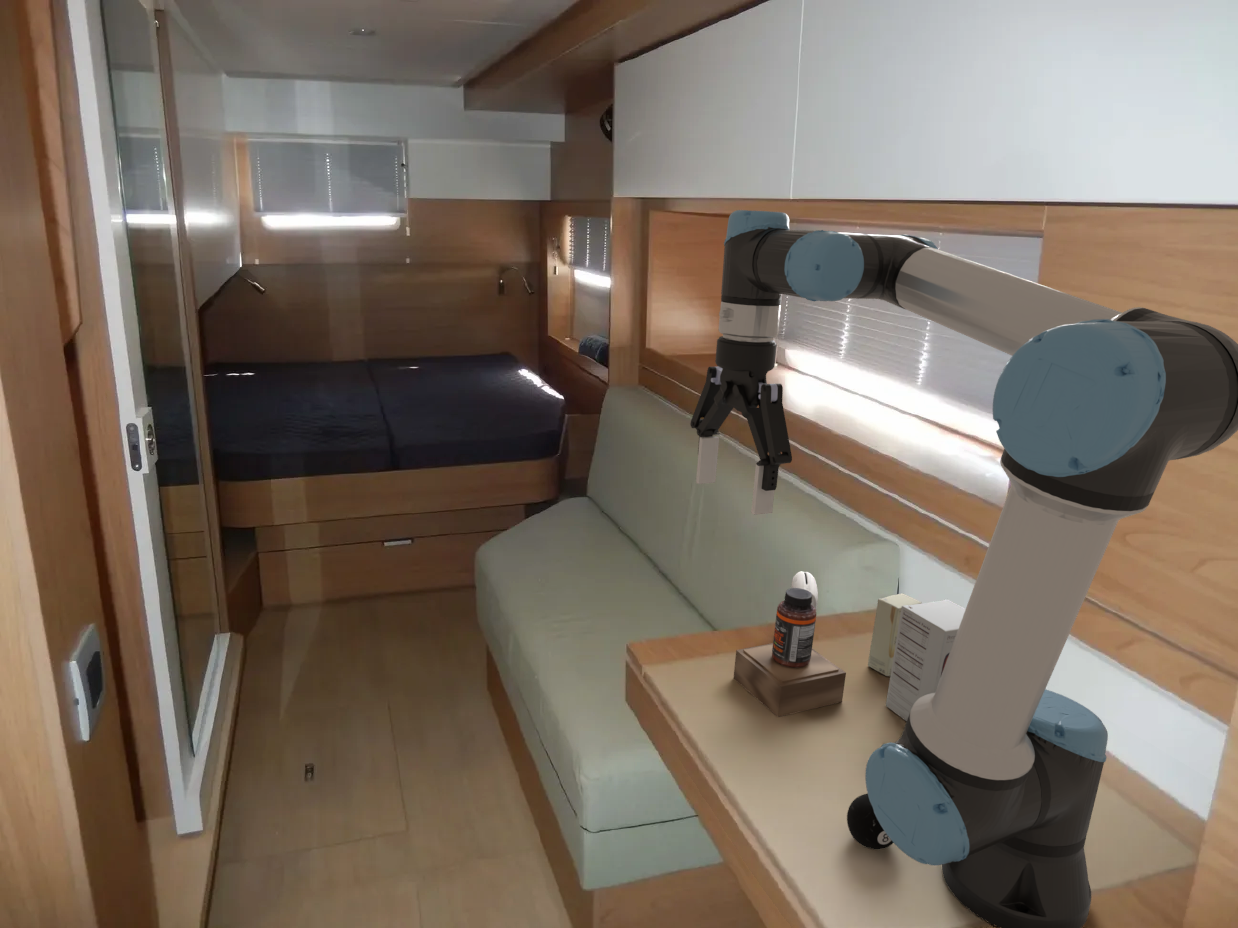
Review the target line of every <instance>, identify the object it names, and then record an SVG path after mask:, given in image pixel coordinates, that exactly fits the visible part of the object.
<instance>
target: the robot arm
mask: <svg viewBox="0 0 1238 928" xmlns="http://www.w3.org/2000/svg"><path fill="white" fill-rule="evenodd" d="M726 229H727V230H726V237H725V239H724V242H723V245H724V246H723V247H724V249H723V263H722V265H723V266H722V275H721V276H722V279H721V293H720V294H721V296H720V310H719V312H718V316H719V319H718V321H719V322H718V332H719V333H720V334H721V336H719V337H718V338H717V339H716V348H715V349H716V350H715V351H716V352H715V361H714V363H715V365H716V366H708V368H707V370H706V371H707V372H706V378H705V383H704V385H703V388H702V390H701V393H700V396H699V398H698V401H697V404H696V407H695V409H694V412H693V414H692V417H691V420H690V423H689V424H690V428H691V429H695V431H696V434H697V436H698V448H697V449H698V450H697V466H696V478H695V479H696V480H695V484H697V485H704V484H714V483H715V484H716V482H717V481H716V478H717V468H718V458H719V457H718V456H719V447H720V445H719V444H720V437H719V436H720V434H721V433H720V431H719V429H720V428H721V426H722V425H723V423H724V422H725V420H726V419H727V418H728V416H729V415H730V413H731V412H732V411H733V409H735V410H736V411H737V412H740V413H741V415H742V418H745V419H746V420H747V421H746V422H747V423H748V426H749V430H750V432H751V436H752V438H753V442H754V444H755V449H756V451H757V455H758V457H759V460H758V461H757V462H756V463H755V470H754V471H755V472H754V480H753V482H754V483H753V492H752V500H751V501H752V503H751V511H750V513H751V514H752V515H753V516H756V515H765V514H766V515H768V514H772V513H773V509H774V500H775V491H776V489H777V487H778V480H779V479H778V477H779V468H780V466H781V465H782V464H783V465H785V464H790V463H791V462H792V461H793V456H792V450H791V444H790V439H789V434H788V426H787V422H786V415H785V411H784V405H783V393H784V392H783V390H784V387H783V384H782V383H768V382H767V374H768V373H769V372H770V371H772V370H773V369H774V368H775V364H776V354H777V345H778V343H776V341H775V340H774V339H773V338H776V337H778V335H779V329H780V320H781V310H782V309H781V307H782V305H781V304H782V295H785V296H790V297H791V296H792V297H797V298H801V299H806V300H807V301H811V302H819V301H820V302H838V301H841V300H843V299H855V300H856V299H857V300H859V299H862V300H863V299H864V300H865V299H866V300H867V299H868V300H869V299H870V300H871V299H873V300H874V299H875V300H880V301H884V302H887V303H890V304H891V305H894V306H896V307H898V308H901V309H903V310H907V311H908V312H911V313H914V314H915V315H918V316H920V317H923V318H925V319H927V320H929V321H932V322H934V323H936V324H939V325H940V326H943V327H945V328H948V329H950V330H953V331H955V332H957V333H959V334H961V335H964V336H966V337H968V338H970V339H972V340H975V341H978V342H980V343H982V344H984V345H987V346H989V347H991V348H994V349H996V350H998V351H1001V352H1002V353H1005V354H1007V355H1010V356H1011V357H1010V358H1009V360H1008V361H1007V363H1006V364H1005V365H1004V367H1003V369H1002V371H1001V373H1000V375H999V377H998V380H997V382H996V385H995V388H994V392H993V399H992V420H994V421H996V422H997V424H998V429H997V430H996V435H997V437H998V440H999V443H1000V444H1001V445H1002V447H1003V451H1002V453H1001V456H1000V461H999V462H1000V466H1001V468H1002V469H1003V472H1004V473H1005V474H1006V476H1007V478H1008V479H1009V481H1010V484H1011V485H1010V488H1009V490H1008V493H1007V496H1006V498H1005V501H1004V503H1003V507H1002V509H1001V512H1000V514H999V517H998V520H997V523H996V526H995V528H994V531H993V534H992V536H991V540H990V542H989V545H988V547H987V550H986V553H985V555H984V558H983V561H982V564H981V567H980V569H979V572H978V574H977V577H976V580H975V582H974V585H973V588H972V591H971V593H970V597H969V599H968V601H967V602H968V603H967V605H966V607H965V609H966V610H965V612H964V615H963V618H962V621H961V623H960V626H959V629H958V632H957V634H956V637H955V640H954V642H953V645H952V648H951V651H950V653H949V656H948V659H947V662H946V664H945V667H944V670H943V672H942V675H941V678H940V681H939V683H938V686H937V689H936V692H935V693H931V694H927V695H925V696H922V697H921V698H919V699H918V700H917V701H916V702H915V703H914V705H913V706H912V708H911V711H910V714H909V717H908V719H907V721H905V724H904V728H903V731H902V734H901V735H900V737H899V739H897V741H895V742H890V741H889V742H887V743H883V744H882V745H881V746H880V747H878V748H877V749H875V750H874V751H873V752H872V753H871V754H870V756H869V758H868V760H867V762H866V765H865V766H866V767H865V779H864V780H865V786H866V787H865V788H866V792H867V793H868V797H869V800H870V802H871V804H872V807H873V810H874V813H875V815H876V817H877V819H878V821H879V823H880V825H881V826H882V828H883V830H884V831H885V833H886V834H887V835H888V837H889V838H890V839H891V840H892V841H893V844H894V845H895V846H896V847H897V848H898V849H899V850H900V851H901V852H902V853H904V855H906V856H908V857H909V858H911V859H912V860H914V861H916V862H918V863H920V864H923V865H930V866H941V873H942V876H943V880H944V882H945V885H946V886H947V888H948V889H949V891H950V892H951V893H952V895H953V896H954V897H955V898H956V899H957V900H958V901H959V902H960V903H961V904H962V905H963V906H964V907H966V908H967V909H968V910H970V912H971V913H972V914H975V915H976V916H977V917H980V918H981V919H982V920H984V921H985V922H987V923H989V924H991V925H993V926H995V927H998V928H1084V925H1085V924H1086V922H1087V920H1088V916H1089V911H1090V908H1091V904H1092V890H1091V885H1090V881H1089V874H1088V867H1087V860H1086V859H1087V858H1086V852H1085V845H1086V839H1087V835H1088V832H1089V827H1090V823H1091V818H1092V815H1093V811H1094V805H1095V802H1096V798H1097V793H1098V790H1099V785H1100V781H1101V777H1102V773H1103V770H1104V769H1103V768H1104V764H1105V763H1106V761H1107V757H1108V756H1107V753H1106V752H1107V746H1108V741H1109V740H1108V739H1109V738H1108V737H1109V736H1108V734H1109V733H1108V730H1107V728H1106V726H1105V724H1104V723H1103V721H1102V719H1100V717H1099V716H1097V714H1096V713H1095V712H1093V711H1091V709H1089V708H1087V707H1086V706H1085V705H1083V704H1081V703H1079V702H1078V701H1075V700H1073V699H1071V698H1070V697H1067V696H1065V695H1063V694H1060V693H1057V692H1054V691H1052V690H1050V689H1046V688H1047V686H1048V684H1049V682H1050V679H1051V677H1052V675H1053V673H1054V671H1055V668H1056V665H1057V663H1058V660H1059V658H1060V657H1061V654H1062V651H1063V649H1064V647H1065V645H1066V642H1067V640H1068V639H1069V636H1070V633H1071V630H1072V629H1073V626H1074V624H1075V622H1076V619H1077V617H1078V615H1079V612H1080V610H1081V608H1082V605H1083V603H1084V601H1085V599H1086V597H1087V595H1088V592H1089V590H1090V588H1091V585H1092V583H1093V581H1094V577H1095V576H1096V574H1097V571H1098V569H1099V566H1100V564H1101V562H1102V560H1103V558H1104V555H1105V553H1106V551H1107V548H1108V546H1109V543H1110V542H1111V539H1112V537H1113V534H1114V532H1115V529H1116V528H1117V525H1118V523H1119V522H1120V520H1121V519H1122V520H1123V519H1124V518H1125V519H1126V518H1128V517H1131V516H1134V515H1137V514H1140V513H1143V512H1144V511H1145V510H1146V509H1147V508H1148V507H1149V505H1150V503H1151V500H1152V499H1153V496H1154V494H1155V491H1156V490H1157V488H1158V486H1159V482H1160V481H1161V479H1162V476H1163V474H1164V471H1165V470H1166V467H1167V465H1168V463H1169V461H1175V460H1181V459H1187V458H1192V457H1196V456H1199V455H1202V454H1204V453H1209V452H1210V451H1212V450H1214V449H1216V448H1217V447H1219V446H1220V445H1222V444H1223V443H1225V442H1226V441H1228V440H1230V438H1231V437H1233V436H1234V435H1235V433H1237V432H1238V343H1237V342H1236V341H1235V340H1234V339H1233V337H1230V336H1229V335H1228V334H1227V333H1225V332H1223V331H1222V330H1219V329H1217V328H1215V327H1213V326H1211V325H1208V324H1205V323H1201V322H1197V321H1191V320H1187V319H1182V318H1180V317H1175V316H1172V315H1167V314H1164V313H1161V312H1158V311H1155V310H1153V309H1150V308H1146V307H1141V306H1140V307H1139V306H1138V307H1132V308H1129V309H1127V310H1125V311H1123V312H1121V311H1119V310H1117V309H1113V308H1110V307H1107V306H1104V305H1101V304H1098V303H1095V302H1094V301H1093V302H1092V301H1090V300H1087V299H1085V298H1080V297H1078V296H1075V295H1072V294H1069V293H1067V292H1063V291H1061V290H1058V289H1054V288H1051V287H1050V286H1049V287H1048V286H1045V285H1042V284H1040V283H1037V282H1034V281H1031V280H1028V279H1025V278H1023V277H1019V276H1016V275H1014V274H1011V273H1008V272H1005V271H1001V270H999V269H996V268H993V267H990V266H987V265H984V264H981V263H978V262H975V261H972V260H970V259H966V258H963V257H961V256H958V255H955V254H952V253H949V252H947V251H943V250H940V249H939V247H937V245H936V244H935V243H934V242H933V241H932V240H930V239H928V238H926V237H925V238H924V237H918V236H915V235H910V234H898V235H892V234H891V235H890V234H868V233H867V234H866V233H857V232H856V233H853V232H837V231H833V230H823V229H821V230H806V229H805V230H803V229H802V230H800V229H790V217H789V215H788V214H787V213H785V212H781V211H768V210H767V211H765V210H746V209H738V210H737V209H736V210H734V211H732V212H731V213H730V215H729V217H728V222H727V228H726ZM701 418H702V419H701ZM867 793H866V794H867Z"/></svg>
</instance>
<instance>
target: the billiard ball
mask: <svg viewBox="0 0 1238 928" xmlns="http://www.w3.org/2000/svg"><path fill="white" fill-rule="evenodd" d="M846 824H847V827H848V830H849V833H850V835H851V836H852V838H853V839H854V840H855V841H856V842H857V843H858V844H859V845H861V846H862V847H865V848H867V849H869V850H870V849H871V850H875V851H877V850H879V851H880V850H885V849H886V848H888V847H890V846H892V845H893V844H894V843H893V841H892V840H891V839H890V838H889V837H888V835H887V834H886V833H885V831H884V830H883V828H882V826H881V825H880V823H879V821H878V819H877V817H876V815H875V813H874V810H873V807H872V804H871V802H870V800H869V797H868V793H863V794H861V795H859V796H857V797H856V798H854V799H853V800H852V802H851V803H850V805H849V807H848V809H847V813H846Z"/></svg>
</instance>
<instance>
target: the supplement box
mask: <svg viewBox="0 0 1238 928" xmlns="http://www.w3.org/2000/svg"><path fill="white" fill-rule="evenodd" d="M965 610H966V607H963V606H962V605H959V604H958V603H956V602H953V601H952V600H950V599H948V598H947V599H946V598H945V599H942V600H936V601H930V602H929V601H928V602H922V603H921V604H914V605H904V606H902V607H901V614H900V620H899V626H898V632H897V639H896V645H895V652H894V657H893V664H892V670H891V675H890V676H889V677H890V678H889V683H888V689H887V694H886V695H887V697H886V700H885V706H886V707H887V708H888V709H889V710H891V711H892V712H893V713H895V714H896V715H898V716H899V717H901V719H903V720H904V721H905V722H907V719H908V717H909V714H910V711H911V708H912V706H913V705H914V703H915V702H916V701H917V700H918V699H919V698H921V697H922V696H925V695H927V694H931V693H935V692H936V689H937V686H938V683H939V681H940V678H941V675H942V672H943V670H944V667H945V664H946V662H947V659H948V656H949V653H950V651H951V648H952V645H953V642H954V640H955V637H956V634H957V632H958V629H959V626H960V623H961V621H962V618H963V615H964V612H965Z"/></svg>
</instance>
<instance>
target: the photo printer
mask: <svg viewBox="0 0 1238 928" xmlns="http://www.w3.org/2000/svg"><path fill="white" fill-rule="evenodd" d="M790 585H791V586H790V588H801V589H805V590H807V591H809V592H811V593H812V603H811V605H813V606H814V608H815V609H816V611H817V609H818V601H819V593H818V591H819V590H818V585H817V581H816V578H815V576H813V574H812V573H810V572H809V571H802V570H801V571H798V572H796V573H795V574H794V575H793V577H792V580H791V584H790Z"/></svg>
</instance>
